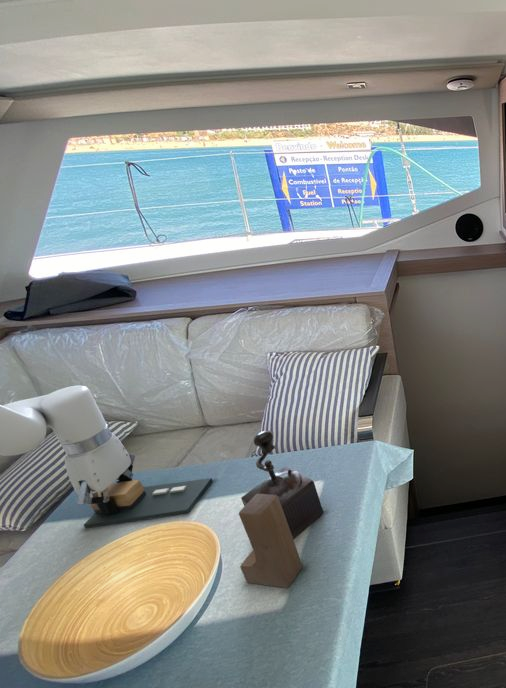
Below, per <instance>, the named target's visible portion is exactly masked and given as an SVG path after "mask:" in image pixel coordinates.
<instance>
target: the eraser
mask: <svg viewBox="0 0 506 688" xmlns="http://www.w3.org/2000/svg"><path fill="white" fill-rule="evenodd" d="M132 480H133V479H132ZM143 487H144V486H143V485H142V483H141V480H140V479H134V480H133V481H126V482H118V483H116V482H113V483H112V484H111V485H109V486H108V492H109V498H113V499H114V501H115V503H116V505H117V506H118V508H119V511H122V510H129V509H133V508H134V507H135V506H136V505H137V504H138V503H139V502H140V501H141V499H142V498H143V497H144V496H145V495H146V492H145V491H144V488H143ZM90 497H91V496H90ZM98 497H102V496H101V492H100V493H98ZM89 505H90V507H91V508H92V510H93V512H94V514H95V513H96V514H101V511H100V509H99V507H98V505H97V504H89Z"/></svg>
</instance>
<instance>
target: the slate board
mask: <svg viewBox="0 0 506 688" xmlns="http://www.w3.org/2000/svg"><path fill="white" fill-rule="evenodd" d="M213 481H214V480H213V478H212V477H208V478H202V479H194V480H186V481H180V482H172V483H164V484H158V485H150V486H143V488H144V491H145V492H146V495H145V496H144V497H143V498H142V499H141V501H140V502H139V503H138V504H137V505H136V506H135V507H134V508H133V509H129V510H122V511H119V512H118V513H116V514H109V515H103V514H102V513H101V514H96V513H95V512H94V514H93V515H91V517H90V518H89V519H87V521H86V522H85V523H83V527H84V528H85V529H88V528H92V527H93V528H95V527H101V526H107V525H108V526H109V525H115V524H121V523H122V524H123V523H128V522H136V521H142V520H143V521H144V520H150V519H157V518H164V517H171V516H178V515H185V514H189V513H190V511H191V510H192V509H193V508H194V506H195V505H196V504H197V503H198V501H199V500H200V498H201V497H202V496H203V494H204V493H205V492H206V491H207V490H208V488H209V487H210V485H211V484H212V483H213ZM181 486H186V487H187V488H186V489H185V490H184V491H182V492H175V493H170V491H171V489H172V488H174V487H181ZM167 488H169V491H168V492H167V493H166V494H160V495H153V494H152V493H153V492H154V491H155V490H160V489H167Z"/></svg>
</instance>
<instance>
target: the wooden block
mask: <svg viewBox="0 0 506 688" xmlns="http://www.w3.org/2000/svg"><path fill="white" fill-rule="evenodd" d="M238 516H239V518H240V521H241V523H242V526H243V528H244V531H245V533H246V536H247V538H248V541H249V543H250V545H251V548H252V551H251V552H250V553H249V555H247V557H246V558H245V559H244V561H243V562H242V563H241V564H240V566H239V568H240V571H241V573H242V574H243V577H244V579H245V582H246V583H249V584H254V585H255V584H256V585H262V586H270V587H276V588H277V587H278V588H284V589H288V588H289V587H290V586H291V584H292V583H293V581H294V580H295V579H296V577H297V576H298V574H299V573H300V571H301V570H302V568H303V562H302V560H301V557H300V554H299V552H298V548H297V547H296V543H295V540H294V539H293V537H292V534H291V532H290V529H289V526H288V523H287V520H286V517H285V515H284V512H283V509H282V506H281V503H280V501H279V498H278V496H277V495H269V494H256V495H255V496H254V497H253V498H252V499H251V500H250V501H249V502H248V503H247V504H246V505H245V506H244V505H243V508H242V509H241V510H239V512H238Z"/></svg>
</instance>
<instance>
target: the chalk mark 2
mask: <svg viewBox="0 0 506 688" xmlns="http://www.w3.org/2000/svg"><path fill="white" fill-rule="evenodd" d="M186 488H187V487H186V486H181V487H174V488H172V489H171V491H170V493H175V492H182V491H184V490H185V489H186Z"/></svg>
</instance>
